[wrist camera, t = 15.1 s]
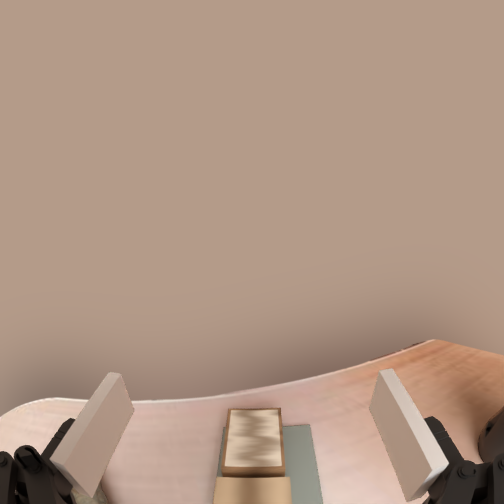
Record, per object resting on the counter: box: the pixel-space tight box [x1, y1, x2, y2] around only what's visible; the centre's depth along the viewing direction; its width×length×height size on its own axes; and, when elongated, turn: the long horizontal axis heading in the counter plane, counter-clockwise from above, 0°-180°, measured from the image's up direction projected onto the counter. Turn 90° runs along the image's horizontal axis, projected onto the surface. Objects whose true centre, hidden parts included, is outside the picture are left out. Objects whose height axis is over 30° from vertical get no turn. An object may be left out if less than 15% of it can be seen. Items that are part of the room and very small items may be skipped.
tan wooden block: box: [213, 477, 292, 504], centre depth 27 cm, size 10×5×3 cm, turn 89°
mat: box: [217, 425, 323, 504], centre depth 33 cm, size 15×20×1 cm
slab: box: [221, 408, 285, 478], centre depth 38 cm, size 9×3×14 cm
